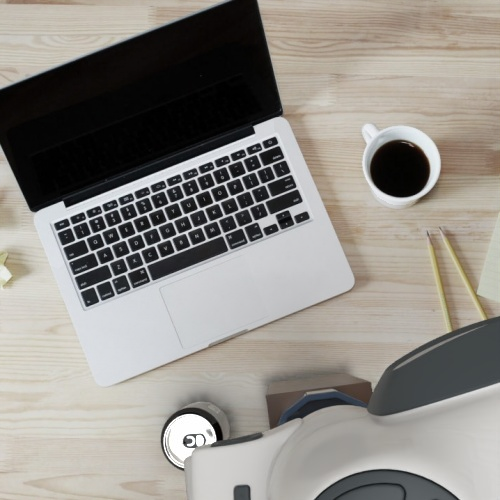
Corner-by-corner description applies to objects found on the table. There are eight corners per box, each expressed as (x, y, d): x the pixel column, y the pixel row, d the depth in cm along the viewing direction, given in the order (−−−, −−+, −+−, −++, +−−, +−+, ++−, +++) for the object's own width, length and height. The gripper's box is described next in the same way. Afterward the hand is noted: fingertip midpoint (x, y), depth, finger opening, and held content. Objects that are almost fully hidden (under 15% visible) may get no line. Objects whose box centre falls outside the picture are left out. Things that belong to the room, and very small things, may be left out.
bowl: (370, 382, 60) (377, 385, 55) (386, 490, 59) (395, 502, 54) (266, 396, 61) (265, 400, 56) (281, 503, 59) (280, 516, 54)
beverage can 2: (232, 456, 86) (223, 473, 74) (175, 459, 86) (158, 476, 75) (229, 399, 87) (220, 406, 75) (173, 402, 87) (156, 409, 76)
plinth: (344, 372, 87) (371, 381, 60) (355, 448, 86) (387, 491, 59) (271, 382, 87) (265, 395, 61) (280, 457, 86) (279, 504, 59)
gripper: (526, 406, 40) (464, 392, 53) (163, 453, 40) (194, 427, 54) (548, 524, 39) (479, 479, 52) (175, 570, 39) (204, 514, 53)
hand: (332, 453), depth 53 cm, fingers closed on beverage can, 5 cm apart
